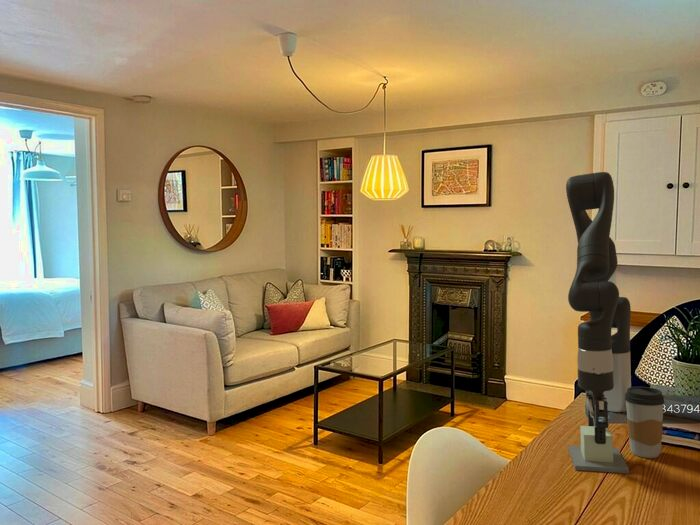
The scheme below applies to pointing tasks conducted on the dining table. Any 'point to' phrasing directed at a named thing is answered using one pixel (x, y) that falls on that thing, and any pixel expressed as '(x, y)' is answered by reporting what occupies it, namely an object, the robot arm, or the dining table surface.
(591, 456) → the sage block
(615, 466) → the slate board
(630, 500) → the dining table surface
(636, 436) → the coffee cup
